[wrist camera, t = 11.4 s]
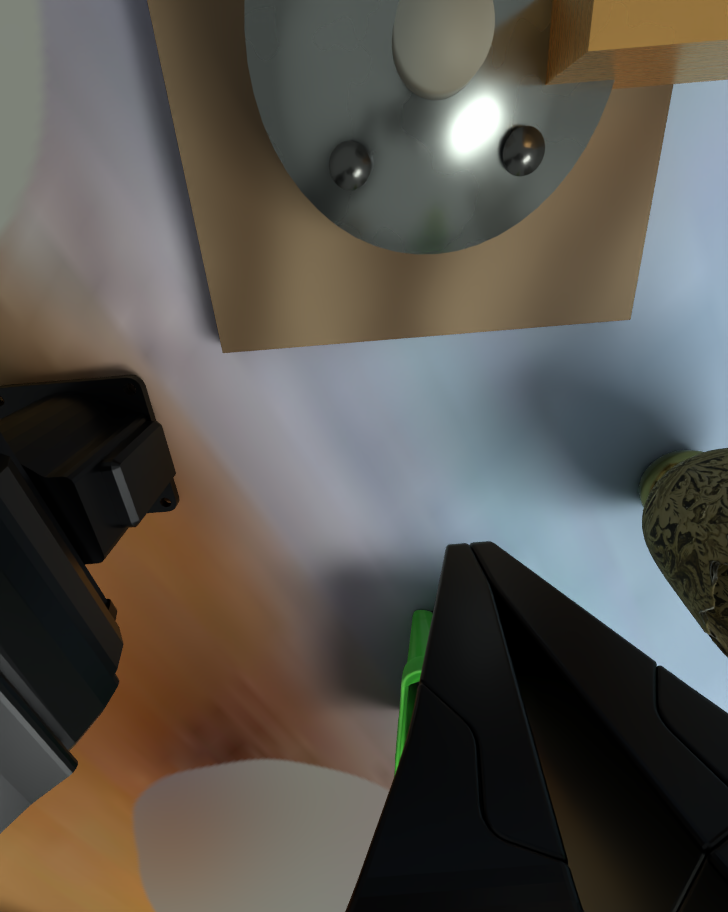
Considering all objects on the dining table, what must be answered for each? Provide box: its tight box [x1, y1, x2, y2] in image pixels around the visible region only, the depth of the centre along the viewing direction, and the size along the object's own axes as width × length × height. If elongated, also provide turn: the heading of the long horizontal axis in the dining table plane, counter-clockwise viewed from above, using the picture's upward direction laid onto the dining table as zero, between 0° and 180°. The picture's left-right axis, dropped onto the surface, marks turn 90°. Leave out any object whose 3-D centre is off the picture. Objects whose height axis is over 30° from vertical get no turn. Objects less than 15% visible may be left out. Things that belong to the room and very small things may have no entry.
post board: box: [147, 0, 673, 353], centre depth 13 cm, size 16×15×5 cm
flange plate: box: [244, 0, 728, 254], centre depth 11 cm, size 14×10×3 cm
